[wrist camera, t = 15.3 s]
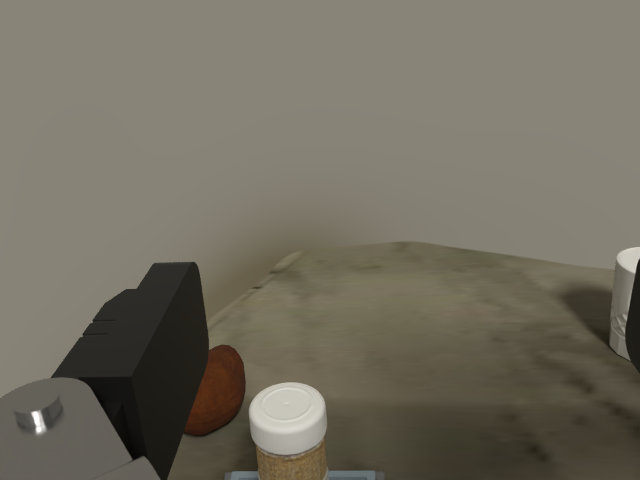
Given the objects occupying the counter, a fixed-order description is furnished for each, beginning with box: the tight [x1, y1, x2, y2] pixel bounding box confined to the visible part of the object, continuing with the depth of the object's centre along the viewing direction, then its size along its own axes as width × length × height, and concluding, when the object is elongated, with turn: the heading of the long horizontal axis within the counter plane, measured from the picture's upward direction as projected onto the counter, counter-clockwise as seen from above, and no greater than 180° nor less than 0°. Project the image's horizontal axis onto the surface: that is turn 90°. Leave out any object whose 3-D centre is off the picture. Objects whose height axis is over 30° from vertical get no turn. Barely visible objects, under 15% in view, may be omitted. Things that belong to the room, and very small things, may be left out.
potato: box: [184, 345, 245, 435], centre depth 56 cm, size 7×9×6 cm
